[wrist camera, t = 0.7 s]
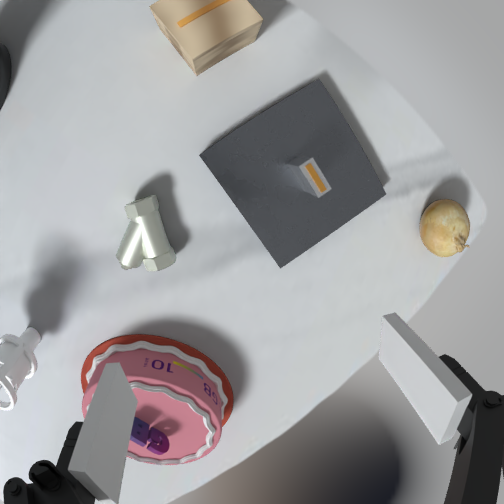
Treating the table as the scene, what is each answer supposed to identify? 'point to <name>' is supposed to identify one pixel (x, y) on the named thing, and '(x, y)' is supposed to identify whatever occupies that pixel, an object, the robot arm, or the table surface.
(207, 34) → the taped cardboard box
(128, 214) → the pipe fitting
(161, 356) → the cake
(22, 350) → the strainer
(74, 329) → the table surface
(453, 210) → the onion
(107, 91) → the table surface
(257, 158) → the grey piece
